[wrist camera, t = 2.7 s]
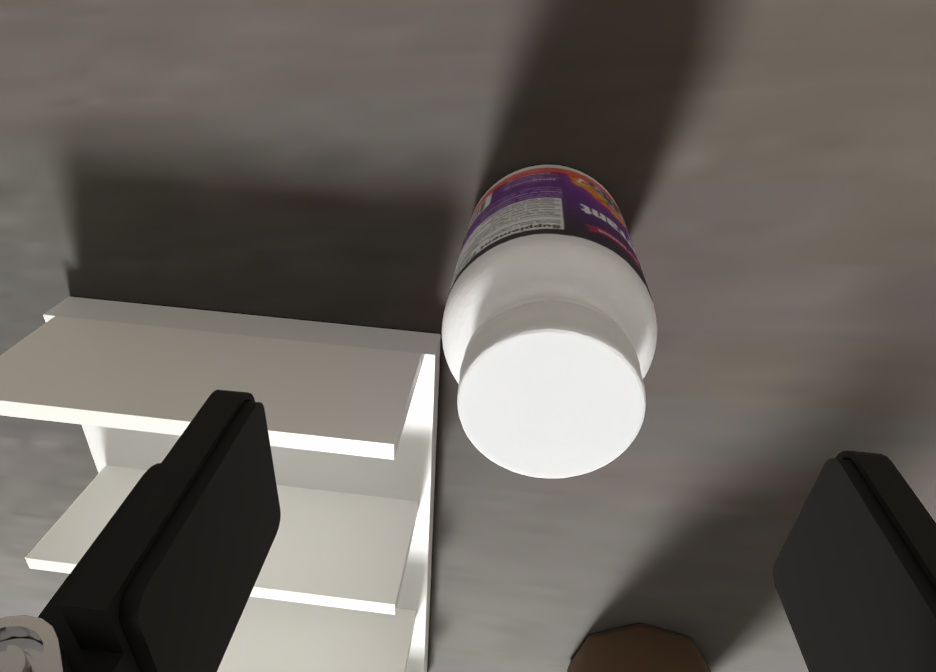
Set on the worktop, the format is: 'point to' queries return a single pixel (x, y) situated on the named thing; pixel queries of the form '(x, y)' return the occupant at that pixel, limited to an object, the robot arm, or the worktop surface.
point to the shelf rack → (293, 452)
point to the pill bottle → (549, 325)
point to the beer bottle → (638, 652)
